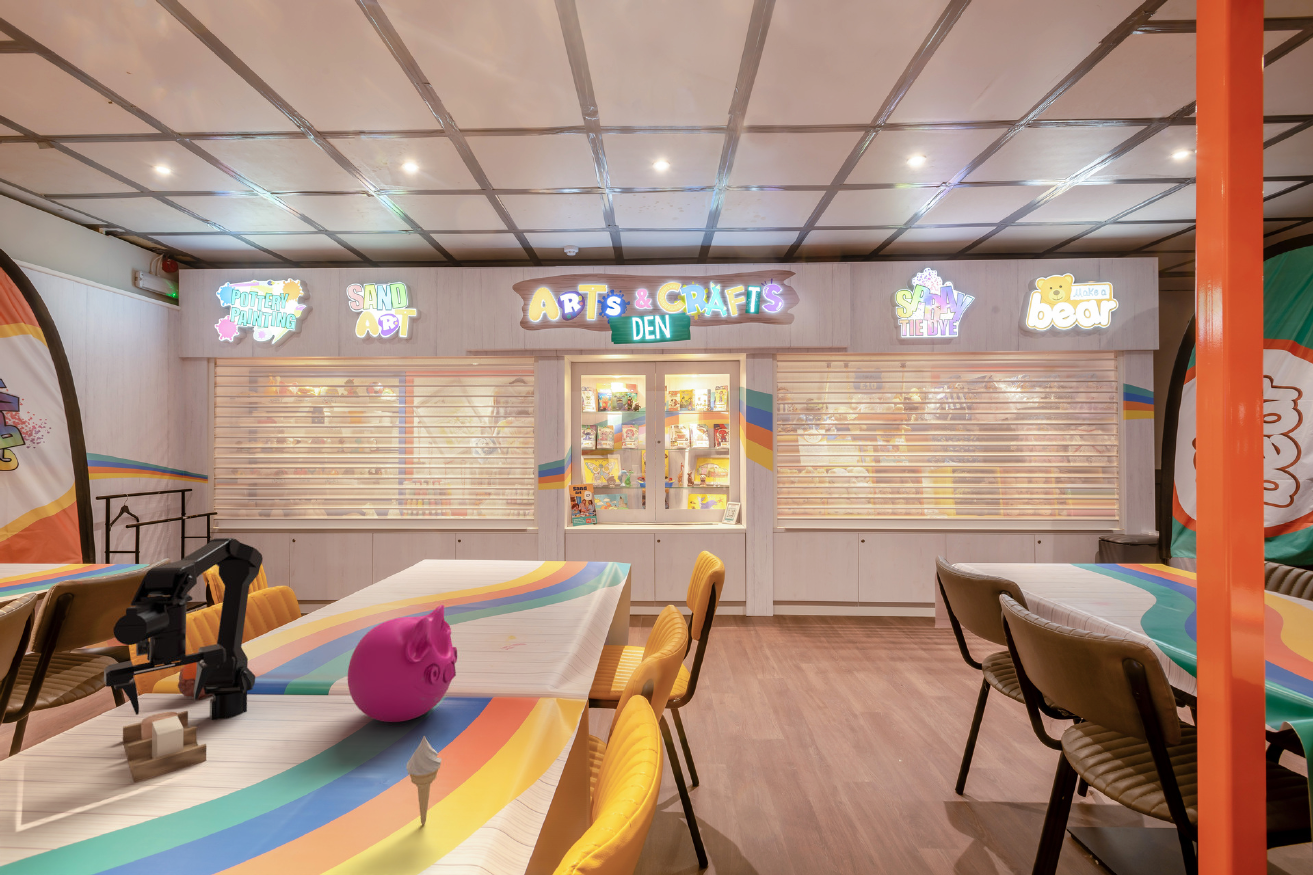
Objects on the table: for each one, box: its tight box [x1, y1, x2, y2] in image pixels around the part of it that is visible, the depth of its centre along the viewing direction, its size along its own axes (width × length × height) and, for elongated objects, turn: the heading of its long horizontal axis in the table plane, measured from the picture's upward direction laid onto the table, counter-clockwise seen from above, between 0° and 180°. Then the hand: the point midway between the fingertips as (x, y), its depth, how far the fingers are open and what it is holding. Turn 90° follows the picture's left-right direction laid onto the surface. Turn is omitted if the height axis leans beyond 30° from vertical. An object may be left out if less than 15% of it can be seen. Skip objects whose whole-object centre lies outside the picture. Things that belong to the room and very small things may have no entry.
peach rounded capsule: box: [140, 711, 179, 741], centre depth 128 cm, size 6×6×5 cm
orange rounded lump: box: [177, 662, 213, 701], centre depth 154 cm, size 12×10×11 cm
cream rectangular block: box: [152, 716, 183, 759], centre depth 121 cm, size 4×8×7 cm, turn 46°
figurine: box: [347, 604, 458, 723], centre depth 142 cm, size 23×24×25 cm
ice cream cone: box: [405, 735, 443, 826], centre depth 101 cm, size 6×6×15 cm
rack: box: [122, 710, 207, 784], centre depth 124 cm, size 11×23×4 cm, turn 46°
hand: (167, 706), depth 121 cm, fingers open, 9 cm apart
